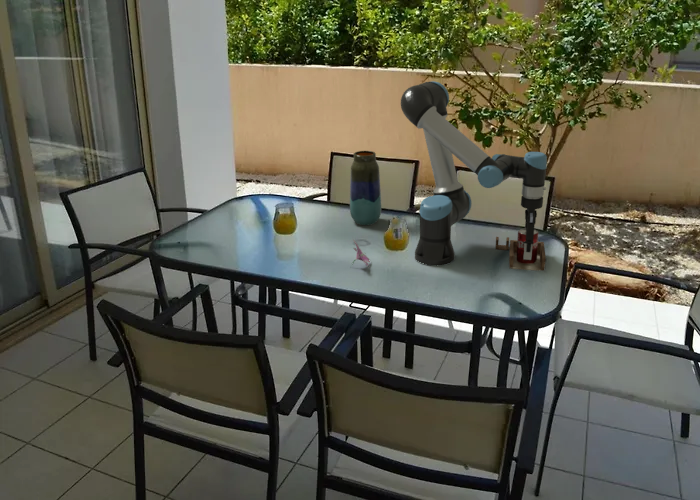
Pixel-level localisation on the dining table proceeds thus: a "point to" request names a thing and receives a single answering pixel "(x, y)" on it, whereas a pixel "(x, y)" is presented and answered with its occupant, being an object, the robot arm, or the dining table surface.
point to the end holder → (537, 266)
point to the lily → (360, 255)
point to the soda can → (522, 245)
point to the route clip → (502, 247)
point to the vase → (365, 188)
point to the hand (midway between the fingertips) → (527, 254)
